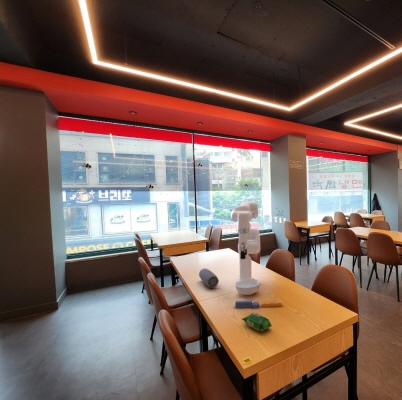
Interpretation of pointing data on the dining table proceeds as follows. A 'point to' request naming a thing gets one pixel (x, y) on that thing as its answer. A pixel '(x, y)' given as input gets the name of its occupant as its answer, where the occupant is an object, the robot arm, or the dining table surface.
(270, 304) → the fry
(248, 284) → the cereal bowl
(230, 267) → the dining table surface
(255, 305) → the blue notched block
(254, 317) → the snack package
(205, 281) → the bluetooth speaker
